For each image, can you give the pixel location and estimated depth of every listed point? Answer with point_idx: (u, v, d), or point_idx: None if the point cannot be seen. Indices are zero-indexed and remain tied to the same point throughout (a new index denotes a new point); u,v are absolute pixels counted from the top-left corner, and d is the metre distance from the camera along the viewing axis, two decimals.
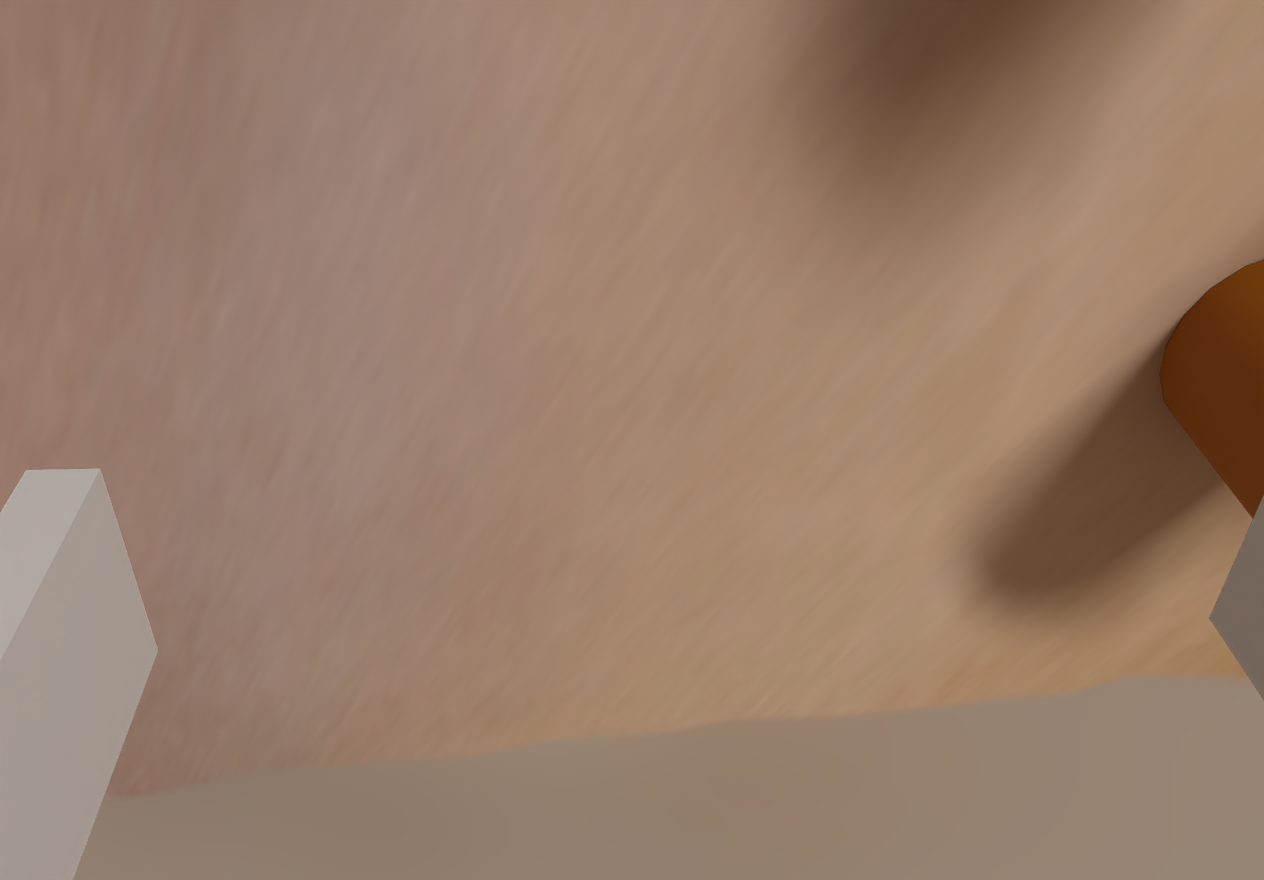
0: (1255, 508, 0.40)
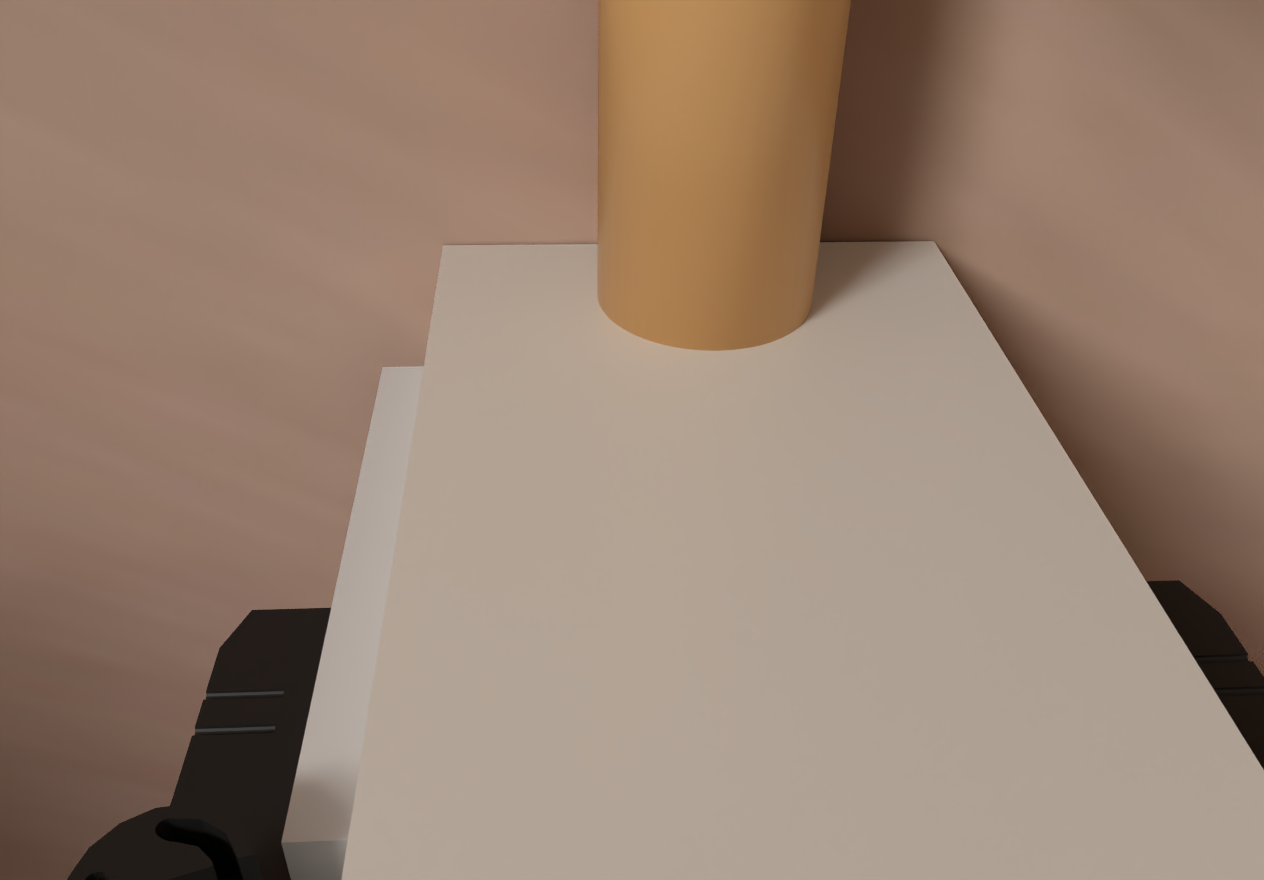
0: None
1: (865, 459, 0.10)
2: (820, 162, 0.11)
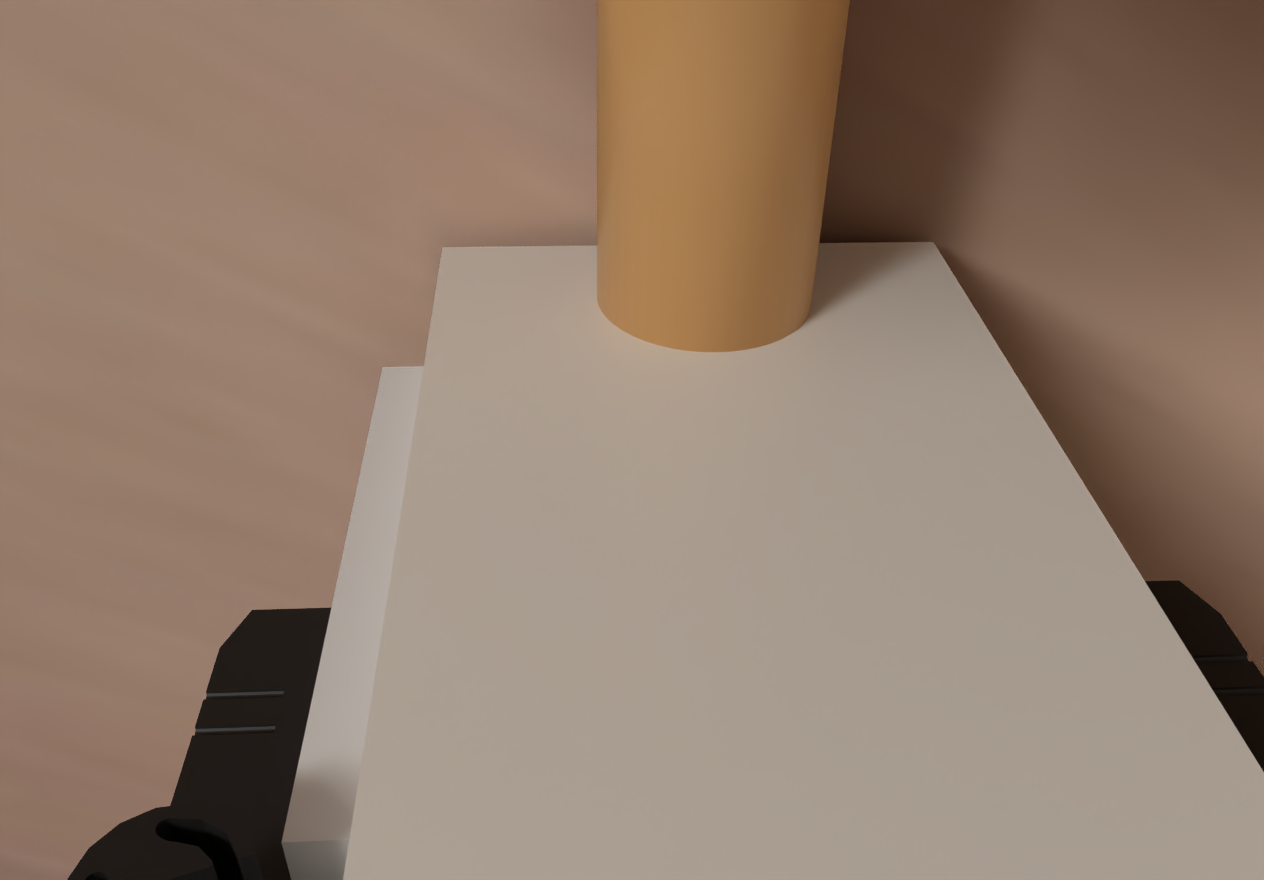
0: None
1: (865, 462, 0.10)
2: (819, 164, 0.11)
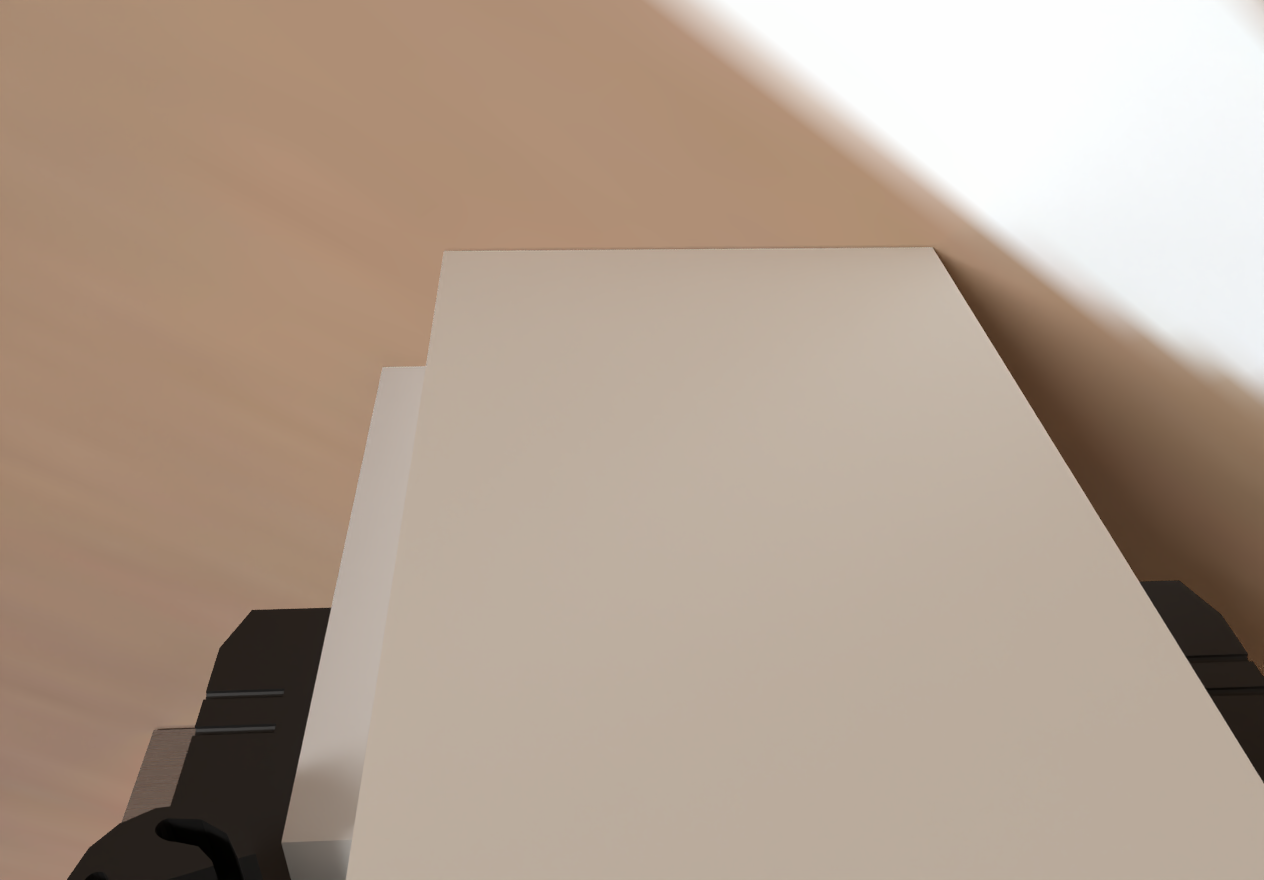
0: None
1: None
2: None
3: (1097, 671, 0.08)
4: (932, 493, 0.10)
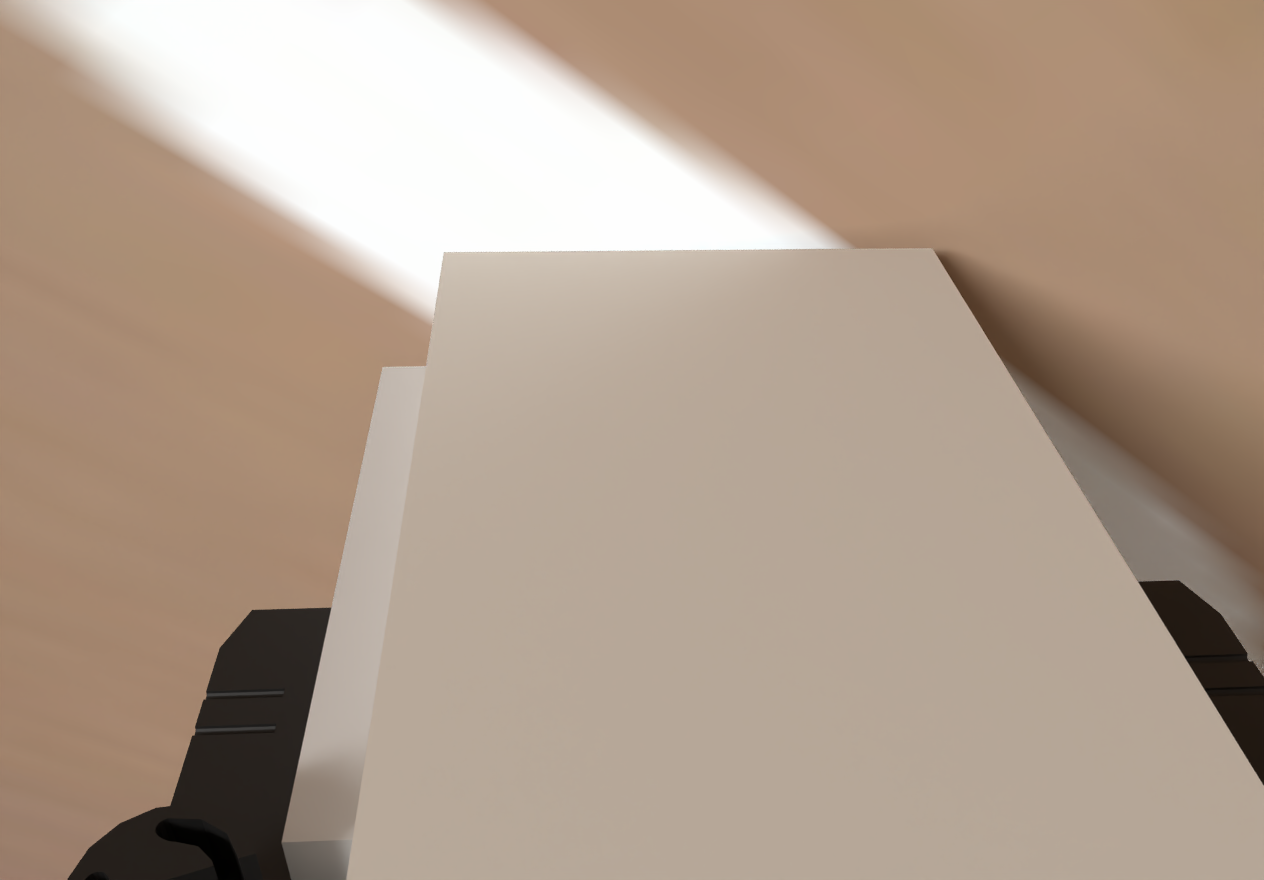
0: None
1: None
2: None
3: (1095, 672, 0.08)
4: (932, 494, 0.10)
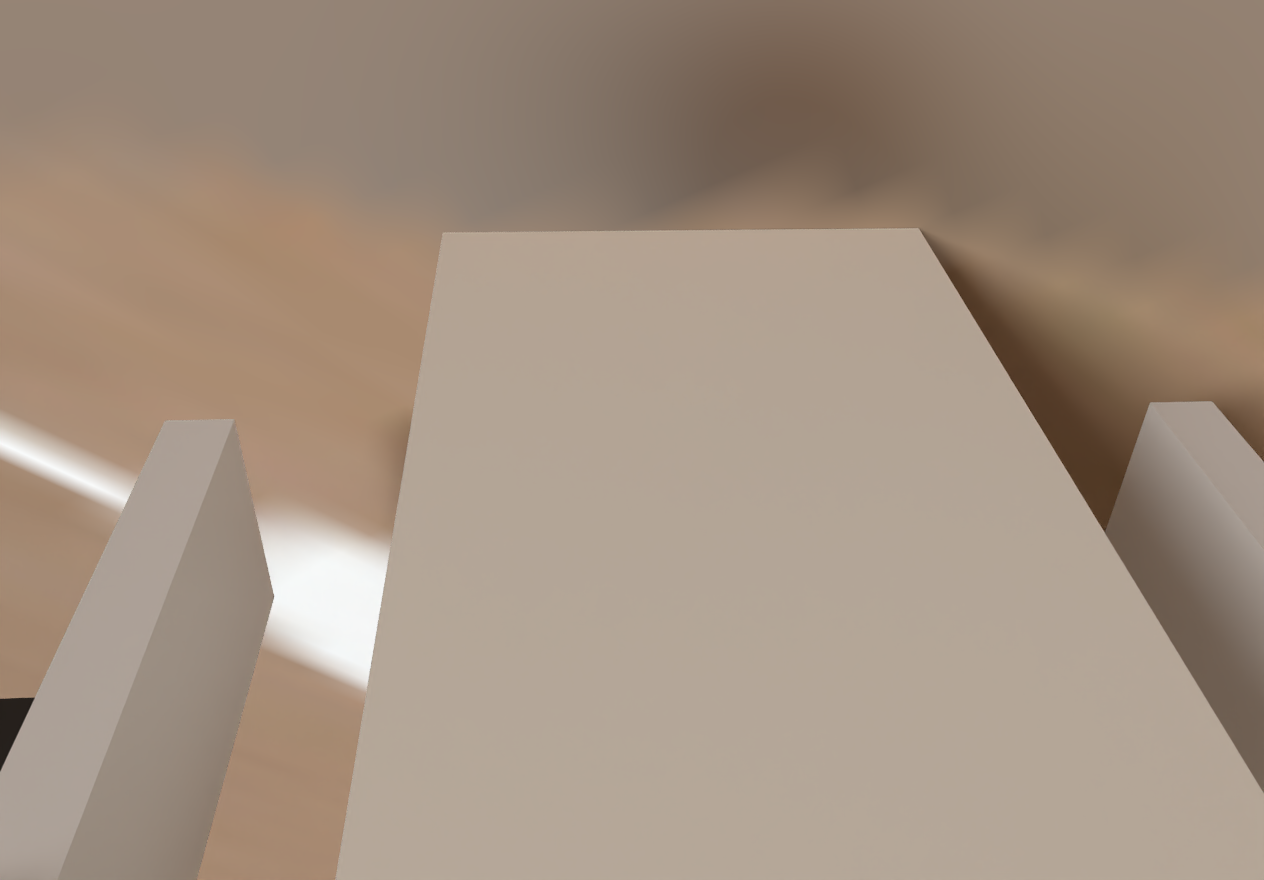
0: None
1: None
2: None
3: (1066, 622, 0.09)
4: (911, 458, 0.10)
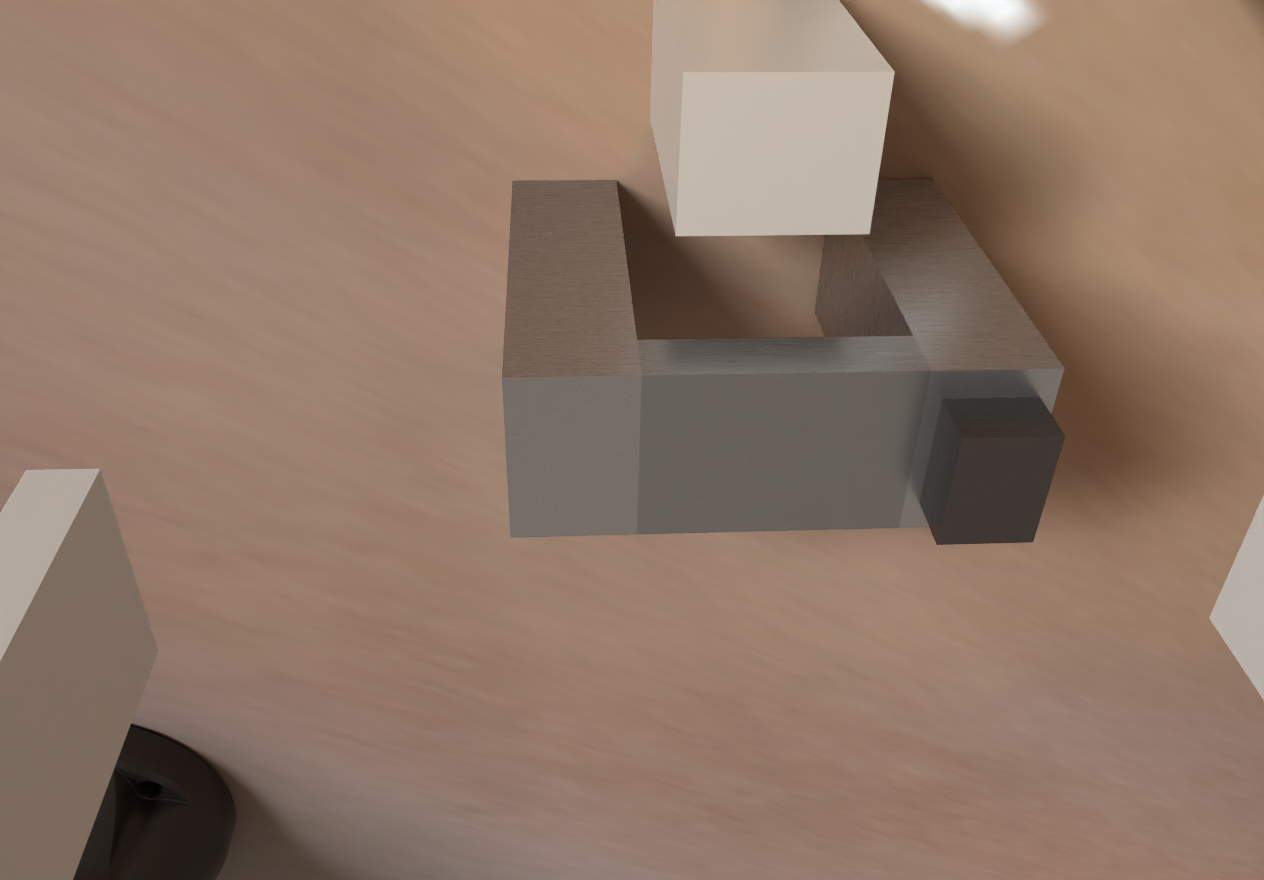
0: None
1: (793, 15, 0.36)
2: None
3: None
4: None
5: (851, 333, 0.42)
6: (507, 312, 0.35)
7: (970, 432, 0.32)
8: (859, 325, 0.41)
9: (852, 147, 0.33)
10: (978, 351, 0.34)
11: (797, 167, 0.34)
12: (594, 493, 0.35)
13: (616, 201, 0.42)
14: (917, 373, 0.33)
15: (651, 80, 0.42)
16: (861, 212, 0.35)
